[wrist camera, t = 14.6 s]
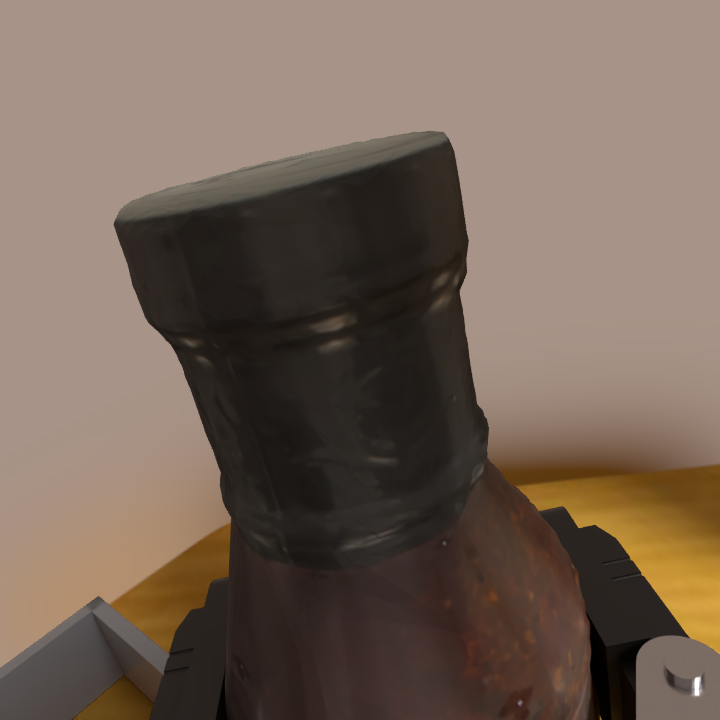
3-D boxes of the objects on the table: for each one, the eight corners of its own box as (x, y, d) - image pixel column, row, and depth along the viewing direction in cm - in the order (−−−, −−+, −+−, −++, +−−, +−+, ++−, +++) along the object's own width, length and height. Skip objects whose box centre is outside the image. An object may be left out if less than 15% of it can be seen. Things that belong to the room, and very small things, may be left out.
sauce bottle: (394, 823, 18) (203, 174, 11) (609, 858, 16) (542, 98, 9) (332, 1161, 12) (-144, 257, 5) (655, 1280, 10) (573, 99, 3)
